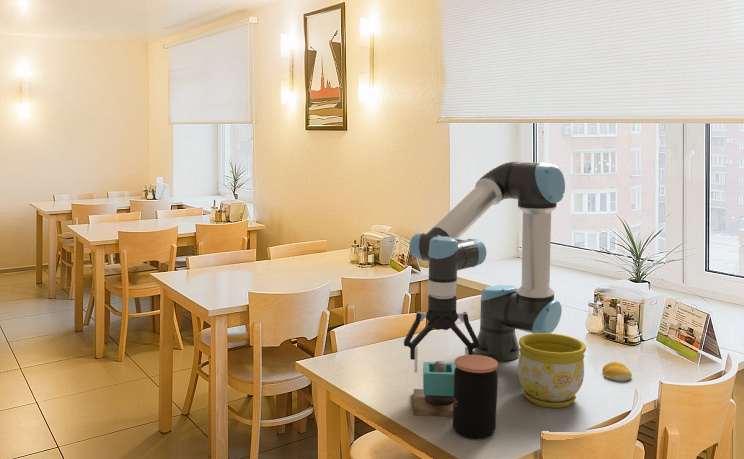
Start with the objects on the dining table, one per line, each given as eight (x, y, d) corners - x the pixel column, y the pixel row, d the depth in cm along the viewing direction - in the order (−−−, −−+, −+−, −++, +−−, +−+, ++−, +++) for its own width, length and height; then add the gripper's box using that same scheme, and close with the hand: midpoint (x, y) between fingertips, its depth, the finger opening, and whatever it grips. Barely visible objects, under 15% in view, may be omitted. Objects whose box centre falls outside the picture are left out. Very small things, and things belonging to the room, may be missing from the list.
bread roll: (605, 381, 200) (606, 368, 199) (600, 370, 208) (601, 358, 208) (634, 383, 198) (635, 370, 198) (628, 372, 207) (629, 360, 206)
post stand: (463, 395, 187) (464, 354, 185) (467, 416, 173) (468, 373, 171) (413, 393, 188) (414, 353, 186) (413, 414, 174) (414, 371, 172)
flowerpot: (539, 381, 198) (541, 328, 195) (594, 399, 185) (598, 343, 183) (503, 397, 186) (506, 341, 183) (560, 418, 173) (563, 358, 170)
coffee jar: (464, 417, 172) (466, 351, 170) (502, 428, 166) (505, 360, 164) (444, 432, 164) (446, 363, 161) (484, 444, 158) (487, 372, 155)
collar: (455, 383, 184) (456, 362, 183) (457, 396, 175) (458, 374, 174) (422, 382, 184) (423, 361, 183) (423, 395, 175) (424, 373, 175)
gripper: (488, 292, 179) (485, 367, 182) (395, 290, 180) (395, 365, 183) (491, 299, 171) (488, 377, 175) (395, 298, 173) (394, 375, 176)
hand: (440, 371), depth 179 cm, fingers open, 13 cm apart
